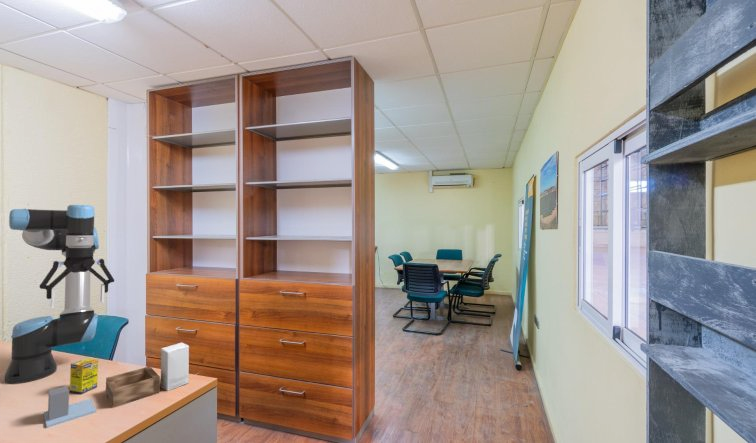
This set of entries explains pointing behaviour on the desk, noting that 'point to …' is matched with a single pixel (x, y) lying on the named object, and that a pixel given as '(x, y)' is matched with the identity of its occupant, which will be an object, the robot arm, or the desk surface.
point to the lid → (65, 407)
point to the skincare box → (174, 366)
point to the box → (132, 386)
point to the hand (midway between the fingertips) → (78, 304)
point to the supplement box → (83, 375)
